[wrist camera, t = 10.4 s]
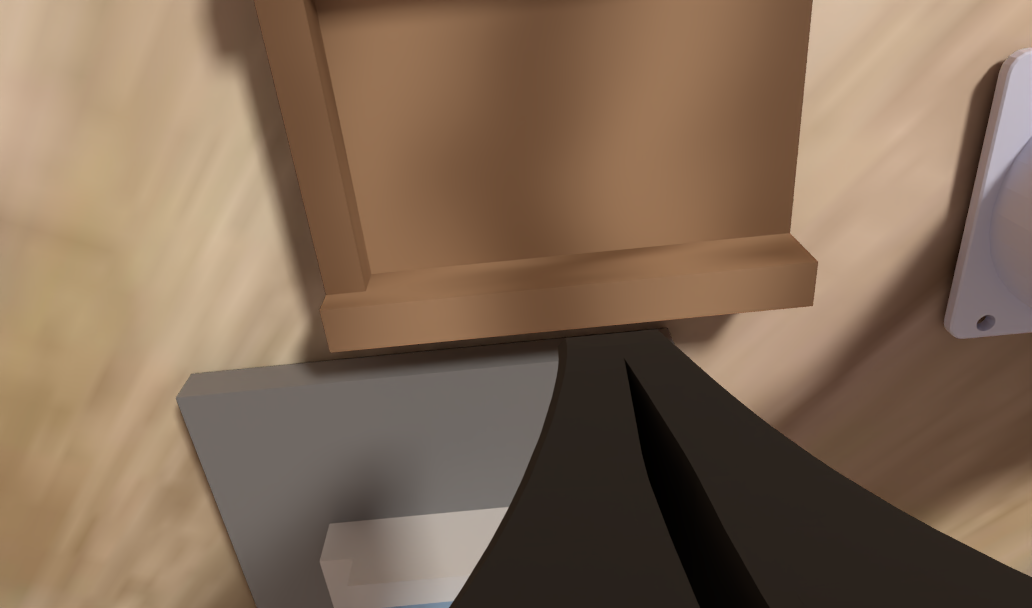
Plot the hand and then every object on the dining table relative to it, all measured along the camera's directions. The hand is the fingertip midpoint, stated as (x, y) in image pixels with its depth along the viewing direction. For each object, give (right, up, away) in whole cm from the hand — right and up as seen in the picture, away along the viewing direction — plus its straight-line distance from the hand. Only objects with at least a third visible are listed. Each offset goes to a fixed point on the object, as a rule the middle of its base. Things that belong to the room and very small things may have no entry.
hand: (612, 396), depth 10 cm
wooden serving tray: (-1, +6, +8) cm, 10 cm away
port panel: (-3, -9, +16) cm, 18 cm away
